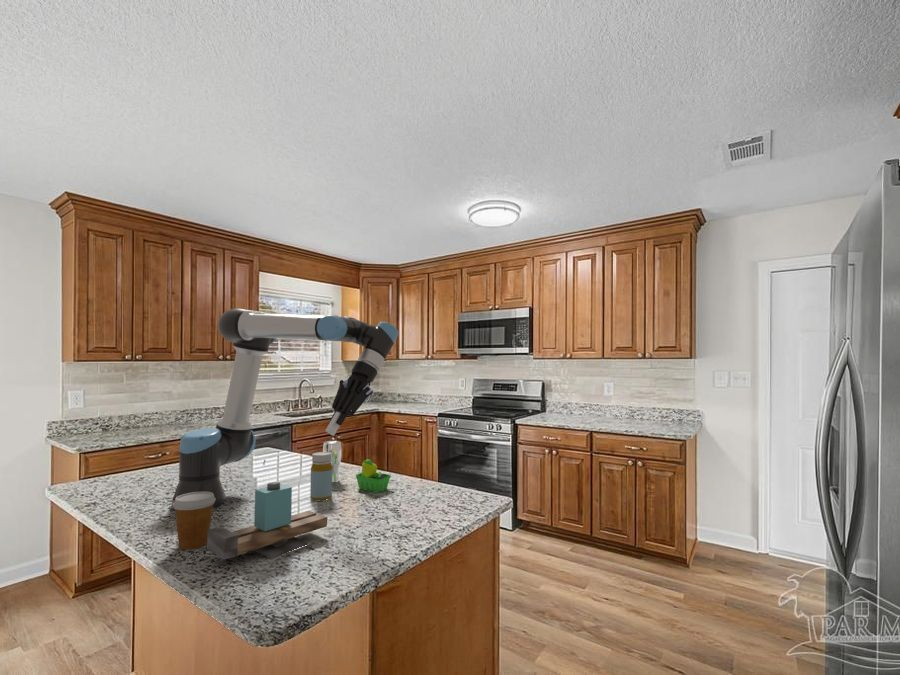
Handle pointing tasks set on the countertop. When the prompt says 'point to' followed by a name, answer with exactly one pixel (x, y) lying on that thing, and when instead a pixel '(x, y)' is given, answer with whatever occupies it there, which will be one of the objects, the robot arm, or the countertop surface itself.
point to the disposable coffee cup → (193, 518)
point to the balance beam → (264, 537)
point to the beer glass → (334, 457)
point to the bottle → (321, 476)
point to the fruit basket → (372, 478)
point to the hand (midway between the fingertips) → (329, 433)
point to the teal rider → (273, 506)
